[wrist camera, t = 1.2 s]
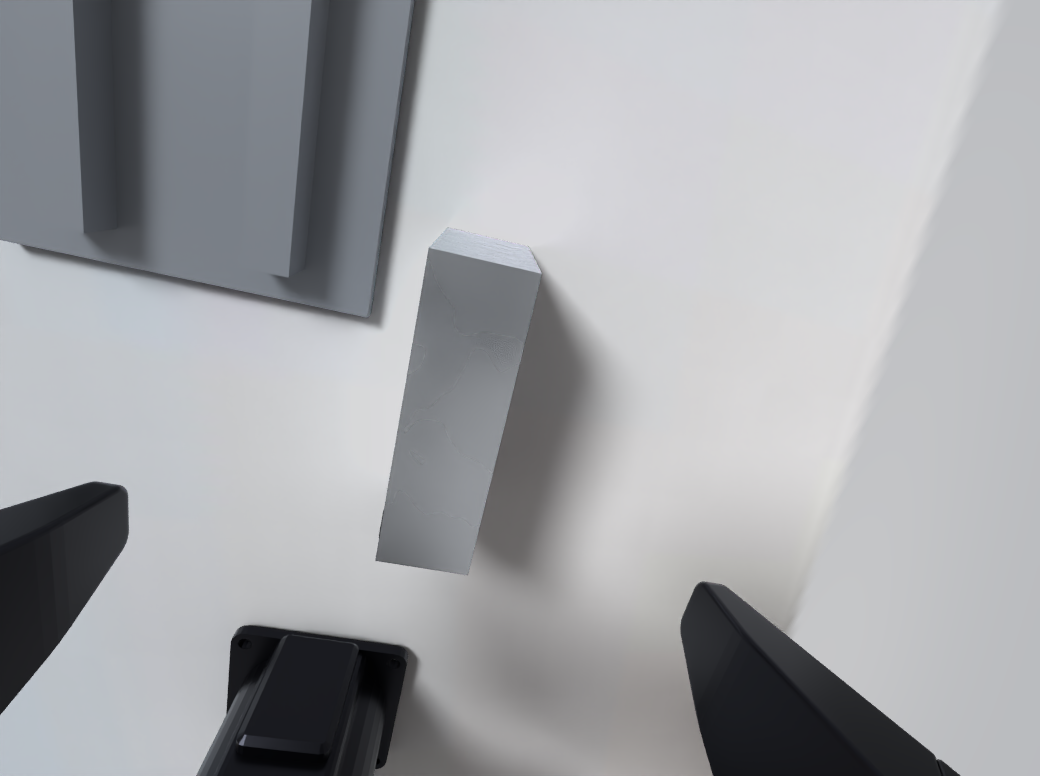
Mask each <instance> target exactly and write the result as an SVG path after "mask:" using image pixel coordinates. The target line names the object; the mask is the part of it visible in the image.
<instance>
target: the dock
mask: <svg viewBox="0 0 1040 776" xmlns="http://www.w3.org/2000/svg"><path fill="white" fill-rule="evenodd" d="M414 2H415V0H0V240H3V241H8V242H13V243H17V244H22V245H27V246H31V247H36V248H41V249H46V250H50V251H55V252H60V253H64V254H69V255H74V256H79V257H83V258H88V259H93V260H97V261H102V262H107V263H112V264H116V265H121V266H126V267H131V268H135V269H140V270H145V271H149V272H154V273H159V274H164V275H168V276H173V277H178V278H182V279H187V280H192V281H197V282H201V283H206V284H211V285H215V286H220V287H225V288H230V289H234V290H239V291H244V292H249V293H253V294H258V295H263V296H267V297H272V298H277V299H282V300H286V301H291V302H296V303H300V304H305V305H310V306H315V307H319V308H324V309H329V310H333V311H338V312H343V313H348V314H352V315H357V316H362V317H366V318H368V316H369V315H370V314H371V310H372V302H373V295H374V288H375V281H376V274H377V267H378V260H379V252H380V245H381V238H382V231H383V224H384V217H385V210H386V202H387V195H388V188H389V181H390V174H391V167H392V160H393V152H394V145H395V138H396V131H397V124H398V117H399V110H400V102H401V95H402V88H403V81H404V74H405V67H406V59H407V52H408V45H409V38H410V31H411V24H412V17H413V9H414Z"/></svg>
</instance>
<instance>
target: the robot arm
mask: <svg viewBox="0 0 1040 776" xmlns="http://www.w3.org/2000/svg"><path fill="white" fill-rule="evenodd" d="M128 534H129V517H128V493H127V490H126V489H125V488H124V487H123V486H121V485H115V484H109V483H103V482H89V483H86V484H83V485H79V486H76V487H73V488H70V489H66V490H63V491H60V492H56V493H53V494H50V495H47V496H43V497H40V498H37V499H34V500H30V501H27V502H24V503H20V504H17V505H14V506H11V507H7V508H4V509H1V510H0V715H1V713H2V712H3V711H4V710H5V709H6V707H7V706H8V705H9V704H10V702H11V701H12V700H13V699H14V698H15V696H16V695H17V694H18V693H19V692H20V690H21V689H22V688H23V687H24V686H25V684H26V683H27V682H28V681H29V680H30V678H31V677H32V676H33V675H34V673H35V672H36V671H37V670H38V669H39V667H40V666H41V665H42V664H43V663H44V661H45V660H46V659H47V658H48V656H49V655H50V654H51V653H52V651H53V650H54V649H55V648H56V646H57V645H58V644H59V642H60V641H61V640H62V638H63V637H64V635H65V634H66V633H67V631H68V630H69V628H70V627H71V626H72V624H73V623H74V621H75V620H76V618H77V617H78V615H79V614H80V612H81V611H82V609H83V608H84V606H85V605H86V603H87V602H88V600H89V599H90V597H91V596H92V594H93V593H94V592H95V590H96V589H97V587H98V586H99V584H100V583H101V581H102V580H103V578H104V577H105V575H106V574H107V572H108V571H109V569H110V568H111V566H112V565H113V563H114V562H115V560H116V559H117V557H118V556H119V555H120V553H121V552H122V550H123V548H124V546H125V544H126V542H127V539H128ZM680 628H681V638H682V643H683V648H684V653H685V658H686V664H687V669H688V674H689V679H690V684H691V690H692V695H693V700H694V705H695V710H696V715H697V719H698V724H699V728H700V732H701V735H702V739H703V743H704V746H705V749H706V753H707V756H708V760H709V763H710V766H711V770H712V773H713V776H960V775H959V774H958V773H957V772H955V771H954V770H953V769H952V768H950V767H949V766H948V765H947V764H945V763H944V762H943V761H942V760H939V759H938V760H936V757H935V755H934V754H933V753H932V752H930V751H929V750H928V749H927V748H925V747H924V746H923V745H922V744H921V743H919V742H918V741H917V740H916V739H914V738H913V737H912V736H911V735H909V734H908V733H907V732H906V731H904V730H903V729H902V728H901V727H899V726H898V725H897V724H896V723H895V722H893V721H892V720H891V719H889V718H888V717H887V716H886V715H885V714H883V713H882V712H881V711H880V710H878V709H877V708H876V707H875V706H873V705H872V704H871V703H870V702H868V701H867V700H866V699H865V698H863V697H862V696H861V695H860V694H859V693H857V692H856V691H855V690H854V689H852V688H851V687H850V686H849V685H847V684H846V683H845V682H844V681H842V680H841V679H840V678H839V677H838V676H836V675H835V674H834V673H832V672H831V671H830V670H829V669H828V668H826V667H825V666H824V665H823V664H821V663H820V662H819V661H818V660H816V659H815V658H814V657H812V656H811V655H810V654H809V653H808V652H807V651H805V650H804V649H803V648H802V647H800V646H799V645H798V644H797V643H795V642H794V641H793V640H792V639H790V638H789V637H788V636H787V635H786V634H784V633H783V632H782V631H781V630H779V629H778V628H777V627H776V626H774V625H773V624H772V623H771V622H769V621H768V620H767V619H766V618H765V617H763V616H762V615H761V614H760V613H758V612H757V611H756V610H755V609H753V608H752V607H751V606H750V605H748V604H747V603H746V602H745V601H743V600H742V599H741V598H740V597H739V596H737V595H736V594H735V593H734V592H732V591H731V590H730V589H729V588H727V587H726V586H724V585H722V584H716V583H710V582H700V583H698V584H697V585H696V587H695V589H694V591H693V593H692V596H691V598H690V600H689V603H688V605H687V607H686V610H685V612H684V614H683V617H682V620H681V627H680ZM245 639H247V640H245ZM248 640H249V641H248ZM391 659H396V660H391ZM407 661H408V653H407V651H406V650H405V649H404V648H402V647H399V646H394V645H387V644H379V643H372V642H365V641H358V640H351V639H343V638H336V637H329V636H322V635H315V634H307V633H300V632H293V631H286V630H279V629H271V628H264V627H257V626H242V627H240V628H239V629H238V630H237V631H236V633H235V634H234V636H233V638H232V640H231V648H230V665H229V682H228V698H227V715H226V717H225V719H224V721H223V723H222V725H221V727H220V729H219V731H218V733H217V735H216V737H215V739H214V741H213V743H212V745H211V747H210V749H209V751H208V753H207V755H206V757H205V759H204V761H203V763H202V765H201V767H200V769H199V771H198V773H197V775H196V776H374V771H375V769H378V768H381V767H383V766H384V765H385V763H386V760H387V755H388V751H389V746H390V741H391V736H392V732H393V727H394V722H395V718H396V713H397V708H398V704H399V699H400V694H401V690H402V685H403V680H404V676H405V671H406V666H407Z"/></svg>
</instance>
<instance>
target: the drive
mask: <svg viewBox="0 0 1040 776" xmlns="http://www.w3.org/2000/svg"><path fill="white" fill-rule="evenodd" d="M541 276H542V273H541V271H540V269H539V266H538V264H537V262H536V260H535V258H534V256H533V254H532V252H531V250H530V248H529V246H525V245H521V244H517V243H513V242H508V241H504V240H500V239H496V238H491V237H487V236H483V235H479V234H475V233H470V232H466V231H462V230H458V229H453V228H449V227H448V228H447V229H446V230H445V231H444V232H443V233H442V234H441V235H440V236H439V237H438V238H437V239H436V241H435V242H434V243H433V244H432V245H431V246H430V247H429V250H428V256H427V262H426V268H425V273H424V279H423V285H422V291H421V297H420V303H419V309H418V314H417V320H416V326H415V332H414V338H413V344H412V349H411V355H410V361H409V367H408V373H407V379H406V385H405V390H404V396H403V402H402V408H401V414H400V420H399V426H398V431H397V437H396V443H395V449H394V455H393V461H392V466H391V472H390V478H389V484H388V490H387V496H386V502H385V507H384V511H383V516H382V522H381V527H380V533H379V542H378V548H377V554H376V560H375V561H381V562H387V563H393V564H400V565H406V566H412V567H419V568H425V569H431V570H438V571H444V572H450V573H457V574H463V575H468V573H469V569H470V564H471V560H472V556H473V553H474V549H475V544H476V540H477V536H478V532H479V528H480V524H481V520H482V516H483V512H484V508H485V504H486V500H487V495H488V491H489V487H490V483H491V479H492V475H493V471H494V467H495V463H496V459H497V455H498V451H499V447H500V443H501V439H502V435H503V431H504V427H505V422H506V418H507V414H508V410H509V406H510V402H511V398H512V394H513V390H514V386H515V382H516V378H517V374H518V370H519V366H520V362H521V358H522V353H523V349H524V345H525V341H526V337H527V333H528V329H529V325H530V321H531V317H532V313H533V309H534V305H535V301H536V297H537V293H538V289H539V285H540V280H541Z"/></svg>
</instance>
